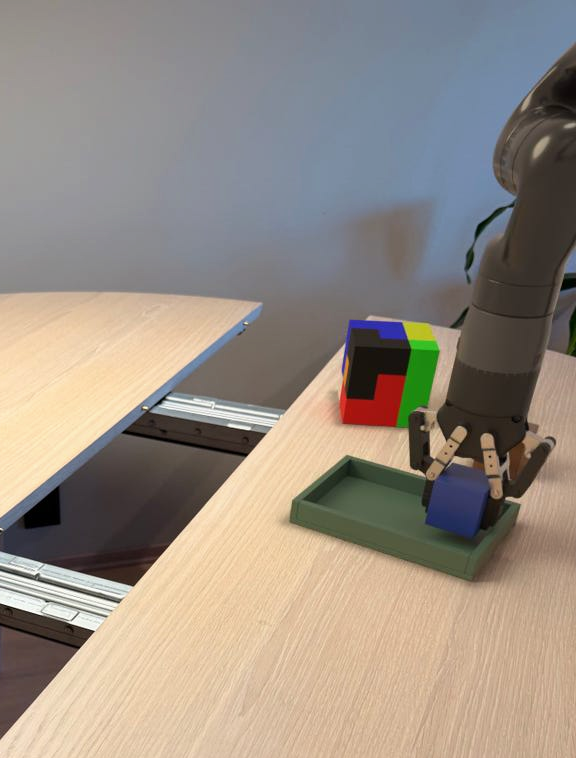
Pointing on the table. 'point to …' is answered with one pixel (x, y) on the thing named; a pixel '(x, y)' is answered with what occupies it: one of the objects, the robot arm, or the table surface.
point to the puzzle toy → (386, 371)
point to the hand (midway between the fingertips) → (457, 518)
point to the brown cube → (514, 457)
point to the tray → (393, 517)
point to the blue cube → (458, 500)
